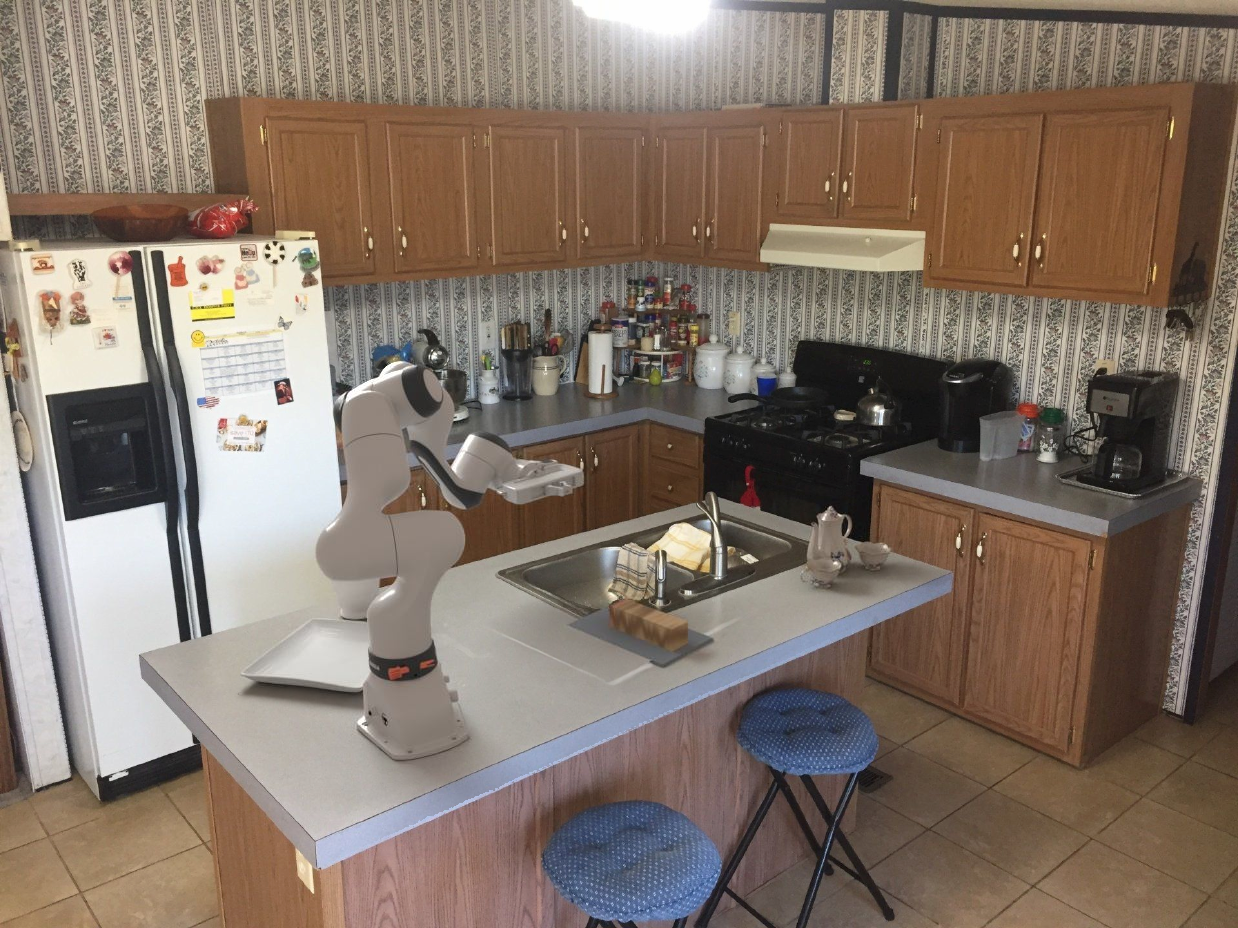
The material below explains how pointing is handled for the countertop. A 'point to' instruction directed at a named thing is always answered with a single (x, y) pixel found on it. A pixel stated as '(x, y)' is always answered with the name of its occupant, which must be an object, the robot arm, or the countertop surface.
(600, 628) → the mat
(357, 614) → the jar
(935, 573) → the countertop surface
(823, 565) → the chinaware
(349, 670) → the square plate
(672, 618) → the oak block
